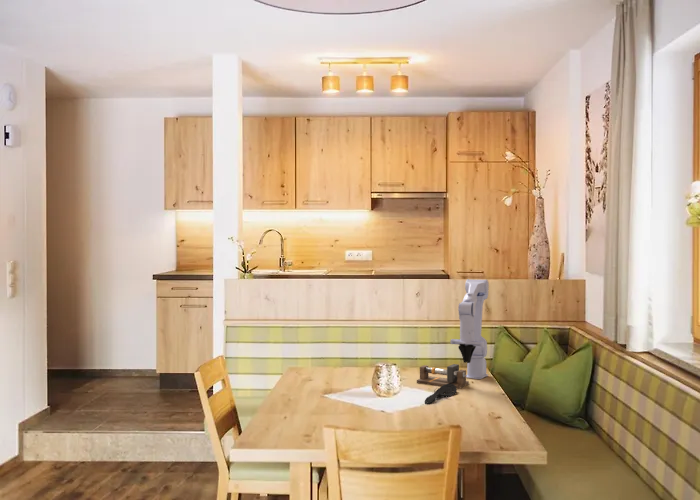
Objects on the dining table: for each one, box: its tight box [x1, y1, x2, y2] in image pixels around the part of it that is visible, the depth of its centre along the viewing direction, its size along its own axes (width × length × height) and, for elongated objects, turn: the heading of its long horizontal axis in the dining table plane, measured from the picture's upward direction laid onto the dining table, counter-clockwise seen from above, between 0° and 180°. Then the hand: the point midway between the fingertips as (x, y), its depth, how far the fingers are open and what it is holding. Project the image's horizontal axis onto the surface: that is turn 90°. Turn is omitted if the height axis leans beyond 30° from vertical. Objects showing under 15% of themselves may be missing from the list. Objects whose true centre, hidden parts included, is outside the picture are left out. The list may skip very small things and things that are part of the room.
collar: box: [446, 363, 460, 383], centre depth 289 cm, size 7×2×7 cm, turn 146°
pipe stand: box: [416, 364, 470, 390], centre depth 292 cm, size 10×20×6 cm, turn 56°
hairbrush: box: [424, 382, 457, 405], centre depth 269 cm, size 8×4×25 cm
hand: (467, 362), depth 285 cm, fingers closed
